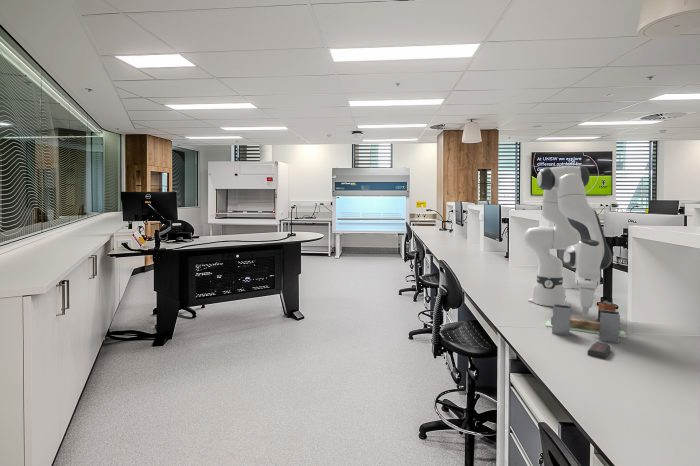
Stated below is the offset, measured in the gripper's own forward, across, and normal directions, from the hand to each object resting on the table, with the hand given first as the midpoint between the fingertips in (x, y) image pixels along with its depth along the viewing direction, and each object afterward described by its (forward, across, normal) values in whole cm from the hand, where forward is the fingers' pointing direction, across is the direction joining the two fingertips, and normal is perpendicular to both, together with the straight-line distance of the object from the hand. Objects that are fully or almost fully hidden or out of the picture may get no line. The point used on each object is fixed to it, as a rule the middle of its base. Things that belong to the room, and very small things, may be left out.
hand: (585, 313), depth 170 cm
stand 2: (+6, +11, +8) cm, 15 cm away
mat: (+6, +1, 0) cm, 7 cm away
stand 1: (+6, +11, -8) cm, 15 cm away
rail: (+6, +1, 0) cm, 6 cm away
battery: (+7, -11, +8) cm, 15 cm away
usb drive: (+6, +28, +5) cm, 29 cm away
